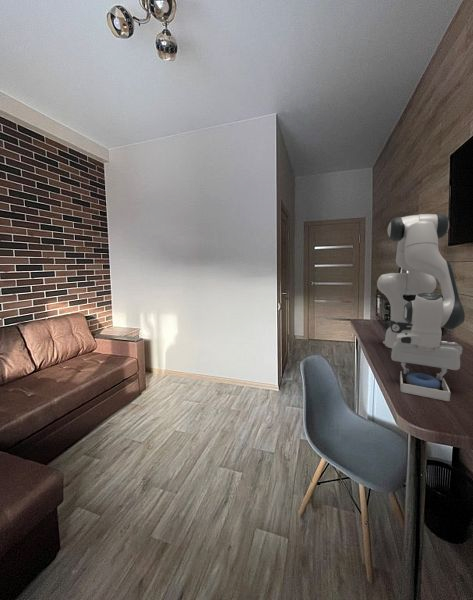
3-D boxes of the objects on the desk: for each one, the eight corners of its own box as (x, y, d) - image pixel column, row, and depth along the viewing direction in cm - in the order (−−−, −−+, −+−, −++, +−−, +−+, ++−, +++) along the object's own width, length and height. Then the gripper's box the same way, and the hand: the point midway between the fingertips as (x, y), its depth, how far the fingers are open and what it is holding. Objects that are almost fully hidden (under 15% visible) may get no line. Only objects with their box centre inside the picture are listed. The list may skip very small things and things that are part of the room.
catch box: (399, 378, 102) (400, 370, 102) (443, 386, 96) (444, 378, 95) (400, 391, 91) (401, 383, 91) (449, 401, 85) (450, 392, 84)
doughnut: (425, 394, 88) (427, 380, 88) (398, 383, 98) (399, 371, 98) (446, 393, 92) (448, 379, 92) (418, 382, 101) (419, 370, 101)
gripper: (460, 341, 93) (457, 379, 94) (392, 333, 103) (390, 368, 105) (465, 345, 87) (460, 386, 89) (392, 337, 98) (389, 373, 99)
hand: (422, 376), depth 97 cm, fingers open, 8 cm apart
